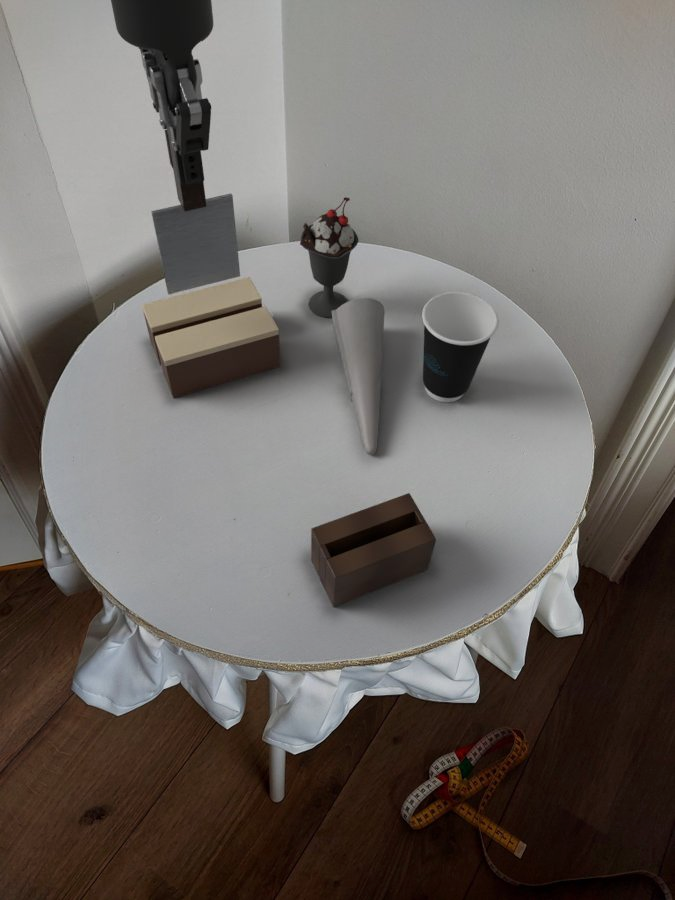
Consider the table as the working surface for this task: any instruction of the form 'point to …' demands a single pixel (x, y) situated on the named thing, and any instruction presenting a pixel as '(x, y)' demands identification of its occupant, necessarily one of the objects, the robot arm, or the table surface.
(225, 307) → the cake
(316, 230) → the sundae
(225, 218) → the knife
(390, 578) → the knife stand
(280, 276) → the table surface
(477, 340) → the dixie cup
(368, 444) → the long tapered cone
